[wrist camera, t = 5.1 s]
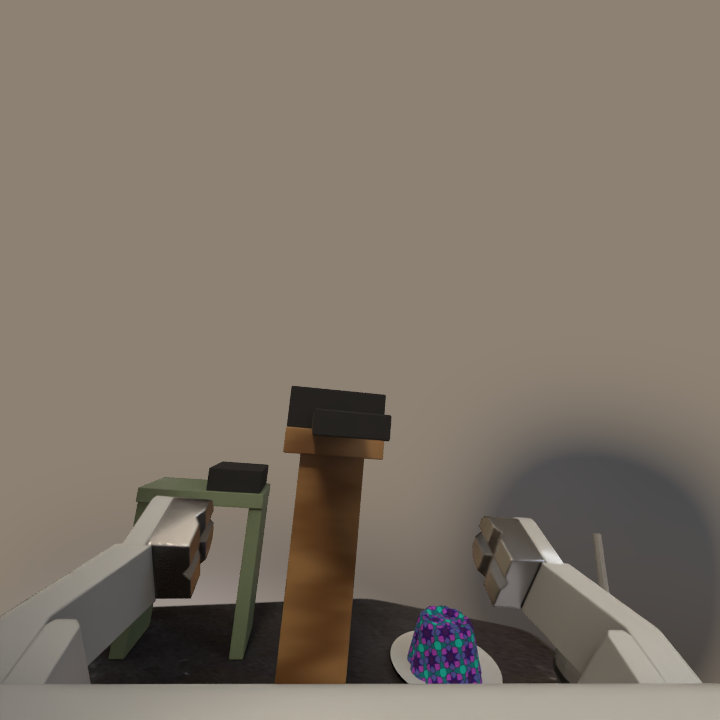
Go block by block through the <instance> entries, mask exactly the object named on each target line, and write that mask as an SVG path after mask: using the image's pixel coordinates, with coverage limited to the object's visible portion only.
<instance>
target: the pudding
mask: <svg viewBox="0 0 720 720" xmlns="http://www.w3.org/2000/svg"><path fill="white" fill-rule="evenodd" d="M390 653H391V660H392V663H393V666H394V667H395V669H396V671H397V672H398V673H399V675H400V676H401V677H402V678H403V679H404V680H405V681H406V682H407V683H408V684H502V675H501V672H500V670H499V668H498V666H497V664H496V663H495V662H494V660H493V659H492V658H491V657H490V656H489V655H488V654H487V653H486V652H485V651H484V650H482V649H481V648H480V647H478V646H477V645H476V640H475V634H474V629H473V626H472V623H471V621H470V620H469V619H468V618H467V617H466V616H464V615H463V614H462V613H461V612H460V611H458V610H456V609H450V608H448V607H446V606H437V607H436V606H429V607H427V608H426V609H425V610H423V611H422V612H421V613H420V615H419V617H418V620H417V624H416V627H415V631H411V632H408V633H405V634H403V635H401V636H400V637H398V638H397V639H396V640H395V641H394V643H393V645H392V647H391V652H390Z"/></svg>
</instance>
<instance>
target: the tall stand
mask: <svg viewBox="0 0 720 720" xmlns="http://www.w3.org/2000/svg"><path fill="white" fill-rule="evenodd" d="M383 449H384V441H379V440H366V439H354V438H342V437H329V436H317V435H313V434H312V428H300V427H286V433H285V442H284V450H283V452H285V453H299V454H300V464H299V472H298V481H297V490H296V499H295V508H294V517H293V525H292V534H291V544H290V553H289V561H288V570H287V579H286V588H285V597H284V606H283V614H282V623H281V632H280V641H279V650H278V659H277V668H276V677H275V684H346V675H347V663H348V650H349V638H350V626H351V613H352V601H353V588H354V575H355V563H356V550H357V539H358V527H359V513H360V501H361V489H362V488H361V487H362V475H363V465H364V458H365V459H379V460H382V459H383Z"/></svg>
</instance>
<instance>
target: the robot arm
mask: <svg viewBox="0 0 720 720" xmlns="http://www.w3.org/2000/svg"><path fill="white" fill-rule="evenodd" d="M212 513H213V501H212V500H209V499H197V498H185V497H168V496H156V497H154V498H153V499H152V500H151V501H150V503H149V504H148V506H147V507H146V509H145V510H144V512H143V513H142V515H141V516H140V518H139V519H138V521H137V522H136V524H135V525H134V527H133V528H132V530H131V531H130V533H129V534H128V536H127V537H126V539H125V540H124V542H123V543H122V544H115V545H113V546H112V547H110V548H109V549H107V550H105V551H104V552H102V553H100V554H99V555H97V556H96V557H94V558H93V559H91V560H89V561H88V562H86V563H85V564H83V565H81V566H80V567H78V568H77V569H75V570H73V571H72V572H70V573H69V574H67V575H65V576H64V577H62V578H60V579H59V580H57V581H56V582H54V583H52V584H51V585H49V586H48V587H46V588H44V589H43V590H41V591H39V592H38V593H36V594H35V595H33V596H32V597H30V598H28V599H27V600H25V601H23V602H22V603H20V604H19V605H17V606H15V607H14V608H12V609H11V610H9V611H8V612H6V613H4V614H3V615H1V616H0V720H720V683H702V682H701V680H700V679H699V678H698V677H697V676H696V674H695V673H694V672H693V671H692V669H691V668H690V667H689V666H688V664H687V663H686V662H685V661H684V659H683V658H682V657H681V656H680V655H679V653H678V652H677V651H676V650H675V648H674V647H673V646H672V645H671V643H670V642H669V641H668V640H667V639H666V637H665V636H664V635H663V634H662V632H661V631H660V630H659V629H657V628H656V627H655V626H653V625H652V624H651V623H649V622H648V621H647V620H645V619H644V618H642V617H641V616H639V615H638V614H637V613H635V612H634V611H633V610H631V609H630V608H629V607H627V606H626V605H624V604H623V603H622V602H620V601H619V600H618V599H616V598H615V597H614V596H612V595H611V594H609V593H608V592H607V591H605V590H604V589H602V588H601V587H600V586H598V585H597V584H596V583H594V582H593V581H591V580H590V579H589V578H587V577H586V576H584V575H583V574H582V573H580V572H579V571H577V570H576V569H575V568H573V567H572V566H570V565H569V564H564V563H563V562H562V560H561V559H560V558H559V556H558V555H557V553H556V552H555V550H554V549H553V548H552V546H551V545H550V543H549V542H548V540H547V539H546V537H545V536H544V535H543V533H542V532H541V530H540V529H539V527H538V526H537V524H536V523H535V522H534V521H533V520H532V519H530V518H512V517H493V516H484V517H483V518H482V519H481V521H480V524H479V527H480V529H481V532H480V533H479V534H478V535H476V536H475V538H474V542H473V558H474V562H475V565H476V567H477V570H478V571H479V572H480V573H481V574H483V575H484V576H485V577H486V578H485V581H484V586H485V588H486V591H487V593H488V595H489V598H490V600H491V602H492V605H493V606H494V607H507V608H522V609H521V610H522V612H523V613H524V614H525V615H526V616H527V617H528V618H529V619H530V620H531V621H532V622H533V623H534V624H535V625H536V627H538V629H539V630H540V631H541V632H542V633H543V634H544V635H545V636H546V637H547V638H548V639H549V641H550V642H551V643H552V644H553V645H554V646H555V647H556V648H557V649H558V650H559V651H560V652H561V653H562V655H563V656H564V657H565V658H566V659H567V660H568V661H569V662H570V663H571V664H572V665H573V666H574V667H575V668H576V670H577V671H578V672H579V673H580V674H581V675H582V676H581V677H580V679H579V681H578V683H577V684H91V682H90V677H89V672H88V665H89V664H90V663H91V662H92V661H93V660H94V659H95V658H97V657H98V656H99V655H100V654H101V653H102V652H103V651H104V650H105V649H106V648H107V647H108V646H109V645H110V644H111V643H112V642H113V641H114V640H115V639H116V638H117V637H118V636H119V635H120V634H121V633H123V632H124V631H125V630H126V629H127V628H128V627H129V626H130V625H131V624H132V623H133V622H134V621H135V620H136V619H137V618H138V617H139V616H140V615H141V614H142V613H143V612H144V611H145V610H146V609H147V608H149V607H150V606H151V605H152V604H153V603H154V602H155V599H156V598H158V599H159V598H160V599H164V598H165V599H166V598H191V596H192V594H193V591H194V589H195V586H196V583H197V581H198V578H199V576H200V564H201V563H202V562H203V561H204V560H205V559H206V558H207V555H208V552H209V549H210V545H211V541H212V536H213V522H212V521H211V519H210V518H211V515H212Z"/></svg>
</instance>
